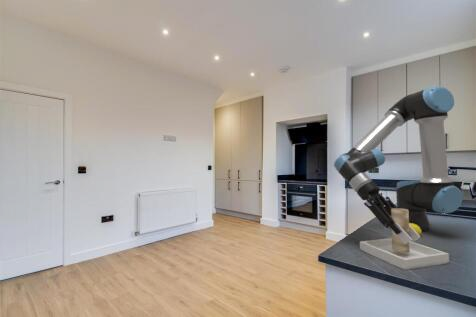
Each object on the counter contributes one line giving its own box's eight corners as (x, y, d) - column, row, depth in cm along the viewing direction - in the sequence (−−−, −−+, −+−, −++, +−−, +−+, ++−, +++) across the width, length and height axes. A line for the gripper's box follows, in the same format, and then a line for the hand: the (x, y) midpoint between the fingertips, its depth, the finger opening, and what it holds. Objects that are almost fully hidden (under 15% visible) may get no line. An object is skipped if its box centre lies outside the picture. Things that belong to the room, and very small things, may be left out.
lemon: (421, 236, 107) (423, 224, 107) (420, 239, 103) (422, 227, 103) (402, 231, 112) (404, 220, 111) (400, 234, 108) (402, 222, 107)
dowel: (399, 246, 87) (398, 207, 87) (413, 251, 82) (412, 210, 82) (388, 248, 86) (387, 208, 86) (401, 253, 81) (400, 211, 81)
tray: (398, 245, 95) (397, 237, 95) (449, 263, 77) (448, 253, 78) (359, 249, 90) (359, 241, 90) (405, 270, 73) (404, 260, 73)
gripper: (371, 191, 102) (417, 241, 87) (344, 194, 93) (390, 251, 78) (384, 179, 97) (434, 230, 83) (356, 181, 88) (407, 239, 74)
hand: (412, 240), depth 81 cm, fingers closed on dowel, 5 cm apart
